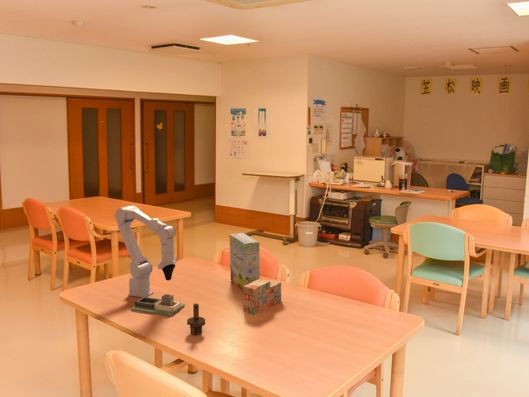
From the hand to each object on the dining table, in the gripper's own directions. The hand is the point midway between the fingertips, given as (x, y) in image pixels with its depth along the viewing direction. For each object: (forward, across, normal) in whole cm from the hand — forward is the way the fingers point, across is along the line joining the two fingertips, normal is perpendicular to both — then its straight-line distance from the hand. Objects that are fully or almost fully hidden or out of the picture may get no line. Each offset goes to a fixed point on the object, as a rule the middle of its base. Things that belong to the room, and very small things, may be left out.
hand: (168, 279), depth 237 cm
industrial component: (+10, -27, -30) cm, 42 cm away
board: (+10, -11, -1) cm, 15 cm away
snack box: (+10, +31, -26) cm, 42 cm away
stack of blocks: (+10, +8, -44) cm, 46 cm away
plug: (+9, -11, -6) cm, 15 cm away
